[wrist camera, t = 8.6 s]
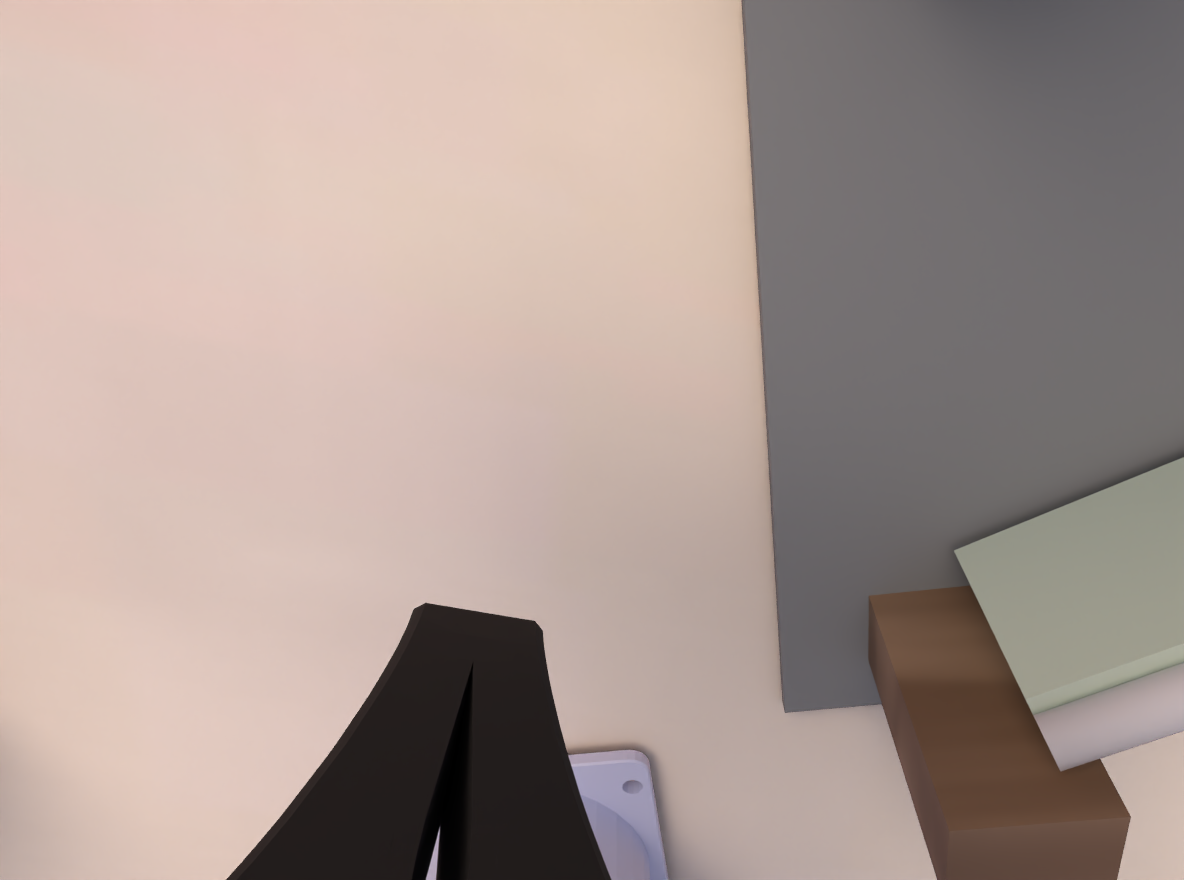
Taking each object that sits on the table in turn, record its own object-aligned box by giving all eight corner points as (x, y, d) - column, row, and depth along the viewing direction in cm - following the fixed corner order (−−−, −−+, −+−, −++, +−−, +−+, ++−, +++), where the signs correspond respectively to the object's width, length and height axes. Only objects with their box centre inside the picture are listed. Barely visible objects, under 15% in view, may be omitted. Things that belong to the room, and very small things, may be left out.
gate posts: (993, 636, 23) (1114, 888, 18) (864, 648, 23) (943, 900, 18) (1082, -294, 14) (1397, -377, 8) (867, -258, 14) (1035, -312, 9)
